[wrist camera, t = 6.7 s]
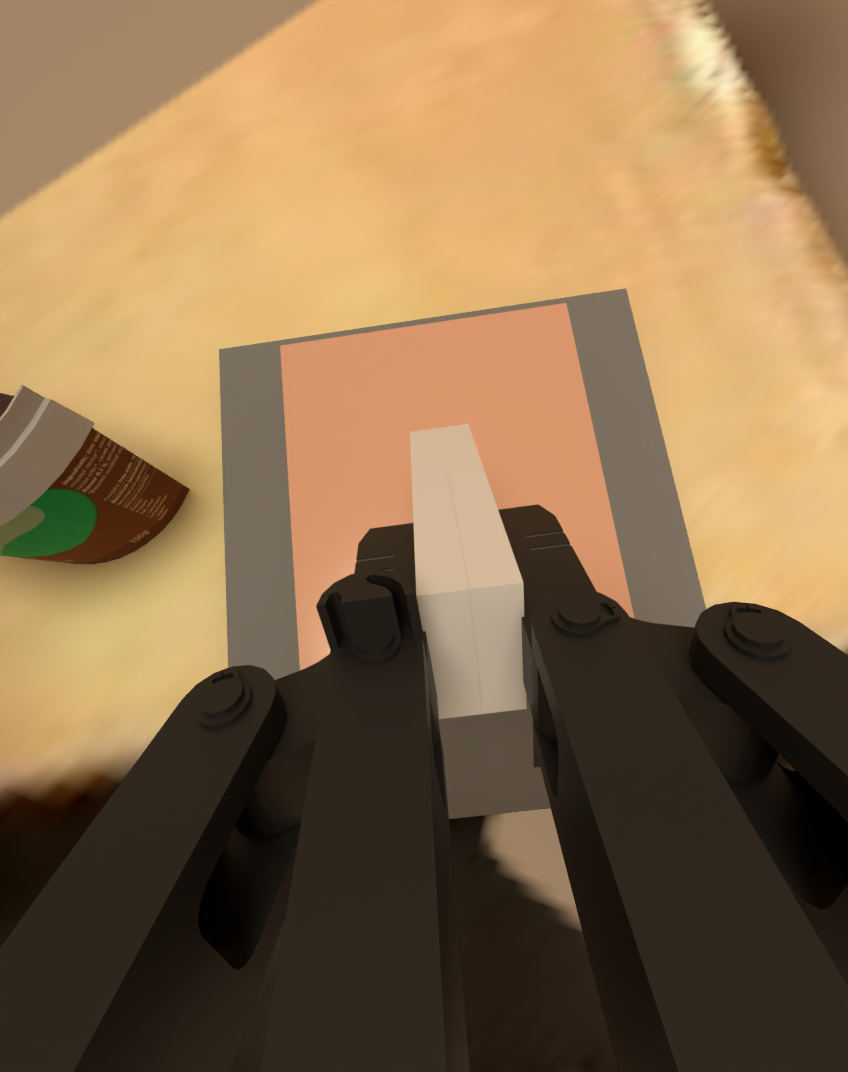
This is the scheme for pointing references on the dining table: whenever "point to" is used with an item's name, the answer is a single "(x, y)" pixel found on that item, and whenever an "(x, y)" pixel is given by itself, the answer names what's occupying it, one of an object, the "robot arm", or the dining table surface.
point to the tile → (433, 402)
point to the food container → (74, 487)
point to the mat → (633, 490)
